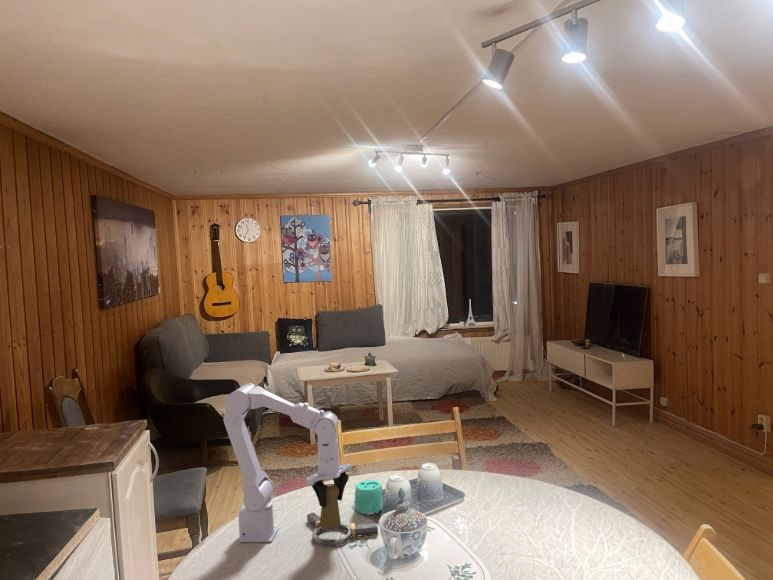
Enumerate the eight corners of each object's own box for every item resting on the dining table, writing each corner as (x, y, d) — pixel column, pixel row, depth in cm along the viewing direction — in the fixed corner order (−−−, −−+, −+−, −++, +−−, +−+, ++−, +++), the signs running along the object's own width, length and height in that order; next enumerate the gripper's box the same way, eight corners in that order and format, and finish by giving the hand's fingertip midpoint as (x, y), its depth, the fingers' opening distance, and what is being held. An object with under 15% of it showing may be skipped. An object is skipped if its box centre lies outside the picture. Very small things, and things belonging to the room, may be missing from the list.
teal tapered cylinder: (358, 503, 181) (357, 479, 181) (382, 503, 181) (381, 479, 180) (355, 515, 173) (354, 490, 173) (381, 515, 173) (380, 489, 173)
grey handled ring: (296, 547, 156) (296, 538, 156) (308, 519, 172) (308, 511, 172) (376, 546, 155) (375, 537, 154) (380, 518, 171) (380, 510, 170)
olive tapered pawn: (318, 528, 158) (318, 490, 157) (320, 517, 164) (320, 481, 163) (340, 528, 158) (339, 490, 157) (341, 517, 164) (341, 481, 163)
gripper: (315, 467, 152) (317, 516, 152) (357, 452, 161) (359, 498, 162) (300, 460, 157) (303, 507, 158) (342, 447, 166) (344, 491, 167)
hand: (330, 502), depth 160 cm, fingers closed on olive tapered pawn, 5 cm apart
